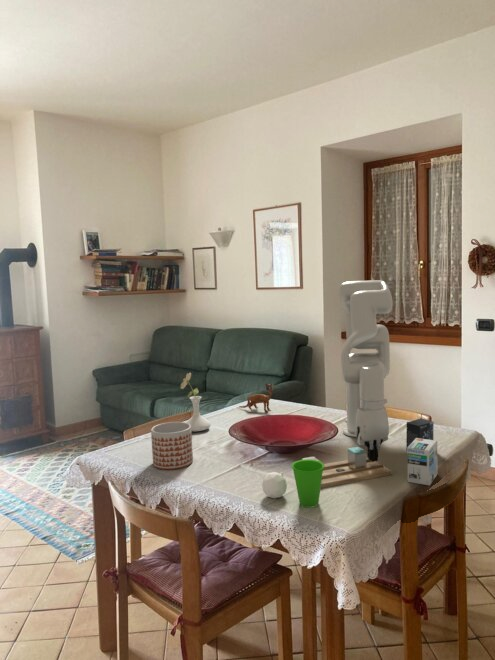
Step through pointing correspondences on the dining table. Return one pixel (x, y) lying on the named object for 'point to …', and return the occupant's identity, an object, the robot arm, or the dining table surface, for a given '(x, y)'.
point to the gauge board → (350, 472)
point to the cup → (308, 481)
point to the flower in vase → (195, 409)
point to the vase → (172, 445)
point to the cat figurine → (260, 399)
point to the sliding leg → (356, 457)
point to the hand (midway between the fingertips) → (373, 459)
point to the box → (419, 430)
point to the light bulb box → (422, 461)
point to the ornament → (274, 485)
